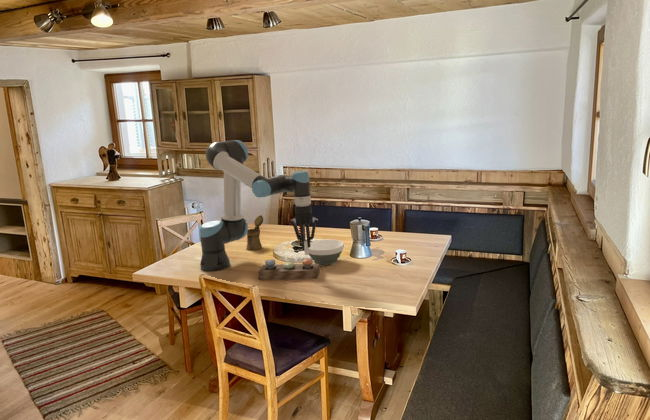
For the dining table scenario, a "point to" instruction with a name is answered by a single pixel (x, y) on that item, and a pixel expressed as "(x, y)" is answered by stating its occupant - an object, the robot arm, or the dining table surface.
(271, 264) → the slate button
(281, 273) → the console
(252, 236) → the brown lidded stein
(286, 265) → the sage button
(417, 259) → the dining table surface
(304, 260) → the rust button
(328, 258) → the bowl
